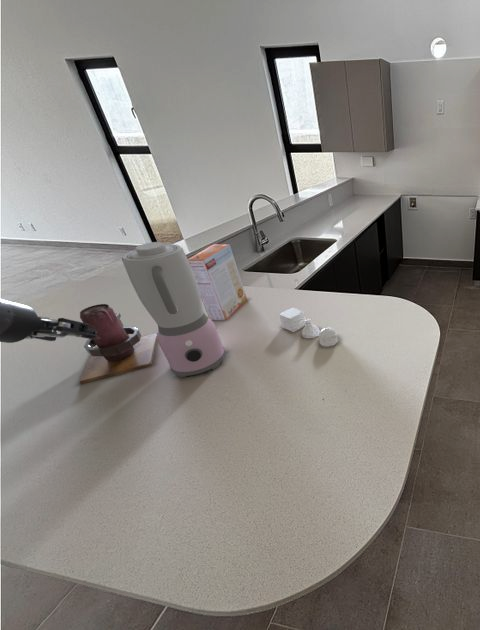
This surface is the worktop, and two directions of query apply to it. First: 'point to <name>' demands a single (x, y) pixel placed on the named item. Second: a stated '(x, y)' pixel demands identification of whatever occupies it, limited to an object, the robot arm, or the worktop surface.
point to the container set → (307, 327)
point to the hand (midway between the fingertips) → (74, 335)
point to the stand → (105, 368)
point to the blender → (175, 307)
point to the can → (106, 329)
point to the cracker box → (218, 281)
